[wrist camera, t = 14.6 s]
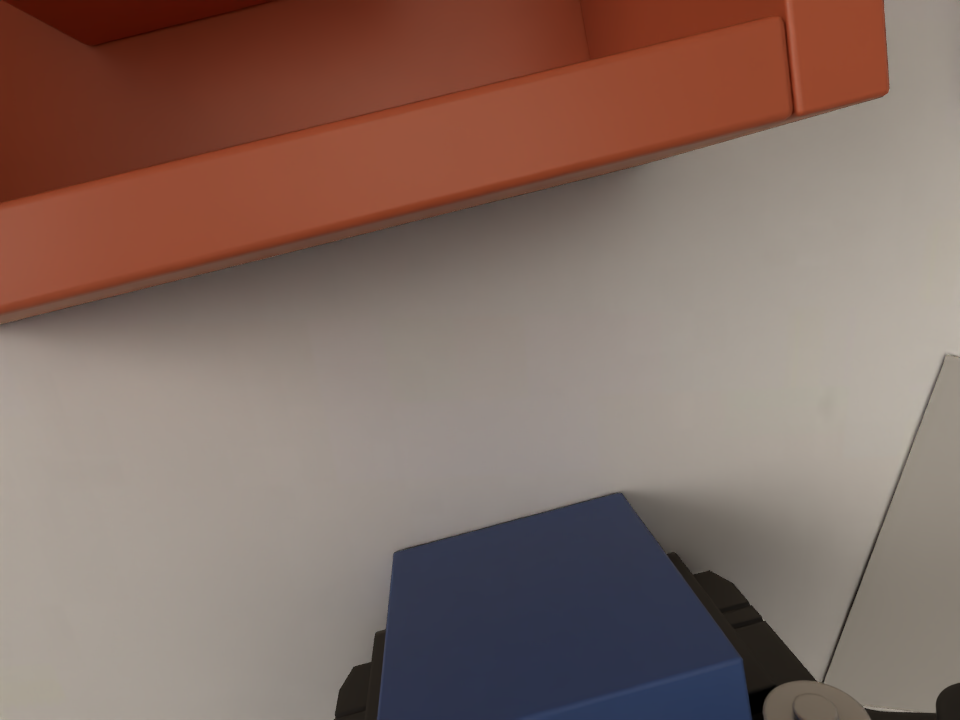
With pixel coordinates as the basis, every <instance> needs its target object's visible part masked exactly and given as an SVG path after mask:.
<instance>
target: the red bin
mask: <svg viewBox="0 0 960 720" xmlns="http://www.w3.org/2000/svg"><path fill="white" fill-rule="evenodd" d="M889 88H890V87H889V73H888V58H887V43H886V28H885V13H884V0H273V1H269V2H265V3H261V4H257V5H253V6H249V7H245V8H241V9H237V10H233V11H229V12H225V13H221V14H217V15H213V16H209V17H205V18H201V19H197V20H193V21H189V22H185V23H181V24H177V25H173V26H169V27H165V28H161V29H157V30H153V31H149V32H145V33H141V34H137V35H133V36H129V37H125V38H121V39H117V40H113V41H109V42H105V43H101V44H97V45H93V46H88V45H85V44H83V43H81V42H79V41H77V40H75V39H74V38H72V37H70V36H68V35H66V34H64V33H62V32H60V31H58V30H57V29H55V28H53V27H51V26H49V25H47V24H45V23H43V22H42V21H40V20H38V19H36V18H34V17H32V16H30V15H28V14H26V13H25V12H23V11H21V10H19V9H17V8H15V7H13V6H11V5H10V4H8V3H6V2H4V1H2V0H0V324H4V323H8V322H12V321H16V320H20V319H24V318H28V317H32V316H36V315H40V314H44V313H48V312H52V311H56V310H60V309H64V308H68V307H72V306H76V305H80V304H84V303H88V302H92V301H96V300H100V299H104V298H108V297H112V296H116V295H120V294H124V293H129V292H133V291H137V290H141V289H145V288H149V287H153V286H157V285H161V284H165V283H169V282H173V281H177V280H181V279H185V278H189V277H193V276H197V275H201V274H205V273H209V272H213V271H217V270H221V269H225V268H229V267H233V266H237V265H241V264H245V263H249V262H253V261H257V260H261V259H265V258H269V257H273V256H277V255H281V254H285V253H289V252H293V251H297V250H301V249H305V248H309V247H313V246H317V245H321V244H326V243H330V242H334V241H338V240H342V239H346V238H350V237H354V236H358V235H362V234H366V233H370V232H374V231H378V230H382V229H386V228H390V227H394V226H398V225H402V224H406V223H410V222H414V221H418V220H422V219H426V218H430V217H434V216H438V215H442V214H446V213H450V212H454V211H458V210H462V209H466V208H470V207H474V206H478V205H482V204H486V203H490V202H494V201H498V200H502V199H506V198H510V197H514V196H518V195H522V194H527V193H531V192H535V191H539V190H543V189H547V188H551V187H555V186H559V185H563V184H567V183H571V182H575V181H579V180H583V179H587V178H591V177H595V176H599V175H603V174H607V173H611V172H615V171H619V170H623V169H627V168H631V167H635V166H639V165H643V164H646V163H650V162H653V161H657V160H661V159H664V158H668V157H671V156H675V155H678V154H682V153H686V152H689V151H693V150H696V149H700V148H703V147H707V146H710V145H714V144H717V143H721V142H724V141H728V140H732V139H735V138H739V137H742V136H746V135H749V134H753V133H756V132H760V131H763V130H767V129H771V128H774V127H778V126H781V125H785V124H788V123H792V122H795V121H799V120H802V119H806V118H809V117H813V116H817V115H820V114H824V113H827V112H831V111H834V110H838V109H841V108H845V107H848V106H852V105H856V104H859V103H863V102H866V101H870V100H873V99H877V98H880V97H883V96H884V95H886V94H887V93H888V92H889Z"/></svg>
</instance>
